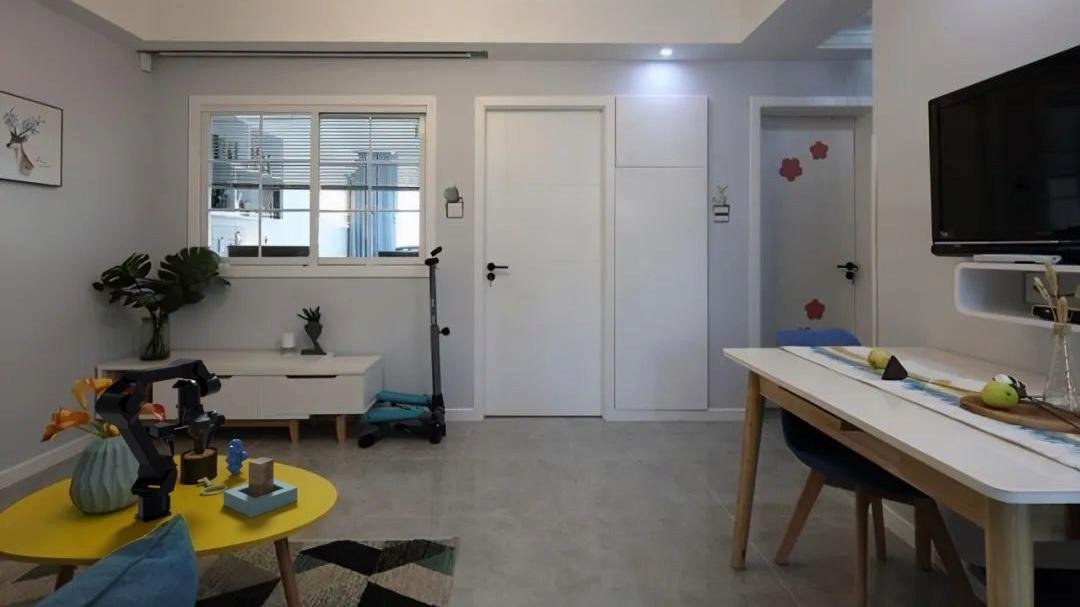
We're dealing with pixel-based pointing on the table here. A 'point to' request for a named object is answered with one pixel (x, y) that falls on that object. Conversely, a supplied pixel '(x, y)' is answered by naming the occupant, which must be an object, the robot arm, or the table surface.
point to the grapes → (235, 456)
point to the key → (211, 487)
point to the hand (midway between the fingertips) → (189, 453)
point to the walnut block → (261, 477)
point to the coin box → (260, 498)
